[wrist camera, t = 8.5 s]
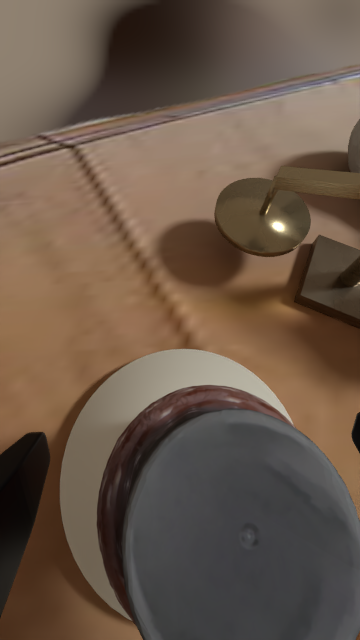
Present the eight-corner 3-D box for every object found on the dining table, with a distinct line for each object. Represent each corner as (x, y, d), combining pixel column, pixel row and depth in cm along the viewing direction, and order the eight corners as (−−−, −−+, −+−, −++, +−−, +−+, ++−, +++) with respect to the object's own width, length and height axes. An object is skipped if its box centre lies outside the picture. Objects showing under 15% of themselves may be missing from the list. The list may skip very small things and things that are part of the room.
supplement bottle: (156, 394, 16) (150, 309, 6) (255, 434, 16) (439, 417, 5) (109, 510, 14) (-40, 708, 3) (224, 561, 13) (448, 974, 3)
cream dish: (259, 682, 12) (267, 700, 12) (13, 538, 14) (3, 545, 13) (321, 406, 18) (330, 404, 17) (136, 322, 19) (135, 316, 18)
